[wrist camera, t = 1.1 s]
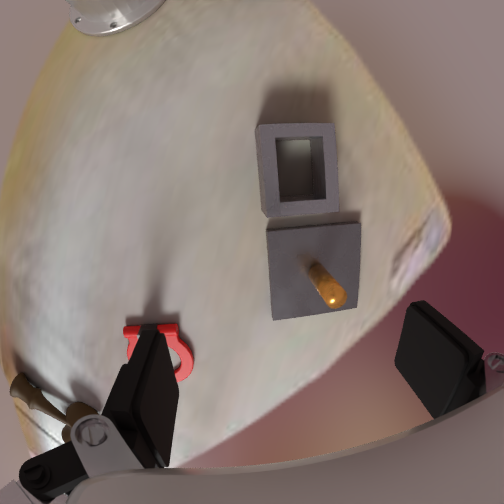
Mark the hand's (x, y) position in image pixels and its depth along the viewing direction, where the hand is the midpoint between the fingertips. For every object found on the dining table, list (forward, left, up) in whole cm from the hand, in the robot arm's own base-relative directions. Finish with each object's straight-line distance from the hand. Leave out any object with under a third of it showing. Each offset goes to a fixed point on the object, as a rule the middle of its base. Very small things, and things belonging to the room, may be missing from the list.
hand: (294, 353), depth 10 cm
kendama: (+26, -34, -20) cm, 47 cm away
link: (-6, +4, -20) cm, 21 cm away
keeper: (+5, +6, -20) cm, 22 cm away
